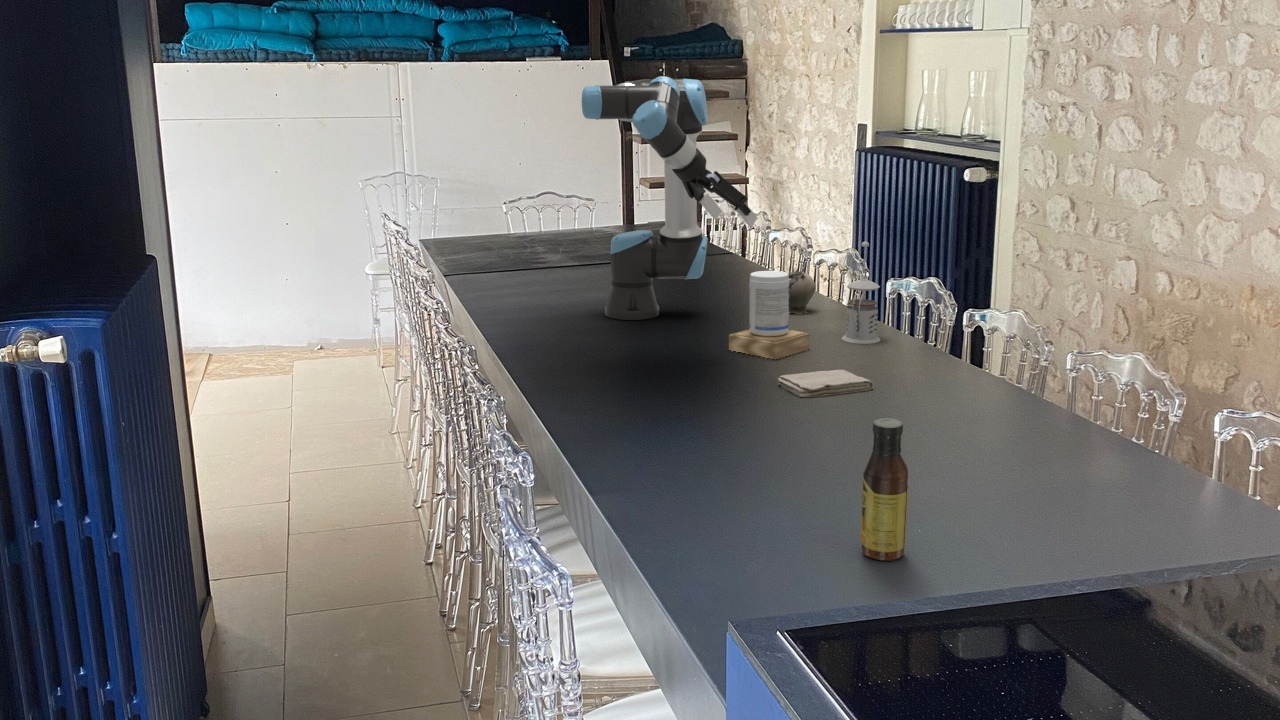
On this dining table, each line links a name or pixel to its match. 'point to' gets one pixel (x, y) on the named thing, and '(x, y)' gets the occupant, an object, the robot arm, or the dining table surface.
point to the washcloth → (824, 383)
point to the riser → (769, 344)
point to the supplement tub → (769, 303)
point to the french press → (861, 313)
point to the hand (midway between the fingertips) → (735, 218)
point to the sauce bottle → (885, 494)
